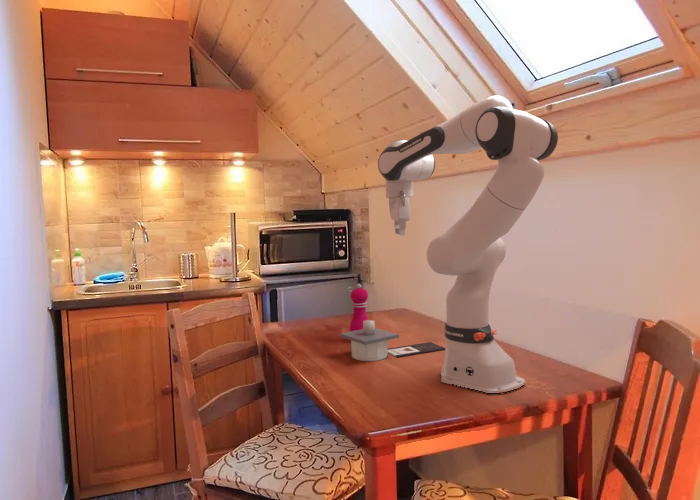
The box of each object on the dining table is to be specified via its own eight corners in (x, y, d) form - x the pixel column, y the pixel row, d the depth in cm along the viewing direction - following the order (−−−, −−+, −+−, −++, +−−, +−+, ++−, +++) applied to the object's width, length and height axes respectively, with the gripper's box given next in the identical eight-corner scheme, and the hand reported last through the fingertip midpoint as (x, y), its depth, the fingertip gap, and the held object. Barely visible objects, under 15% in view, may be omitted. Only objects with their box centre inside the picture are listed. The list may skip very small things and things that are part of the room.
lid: (398, 337, 162) (398, 321, 161) (365, 344, 154) (364, 328, 154) (372, 330, 172) (372, 315, 172) (340, 336, 165) (339, 320, 164)
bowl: (394, 356, 162) (394, 337, 162) (366, 363, 156) (365, 343, 156) (372, 349, 171) (372, 331, 171) (345, 355, 165) (344, 336, 164)
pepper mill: (362, 344, 178) (361, 285, 176) (345, 341, 182) (344, 284, 180) (374, 339, 183) (373, 283, 182) (358, 337, 188) (356, 281, 186)
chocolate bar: (446, 348, 169) (397, 356, 161) (446, 351, 169) (397, 359, 161) (430, 342, 177) (383, 349, 169) (430, 344, 177) (383, 352, 169)
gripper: (414, 190, 160) (414, 236, 161) (404, 192, 180) (405, 232, 181) (393, 191, 159) (394, 236, 160) (386, 193, 180) (386, 233, 181)
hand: (400, 234), depth 171 cm, fingers open, 8 cm apart
